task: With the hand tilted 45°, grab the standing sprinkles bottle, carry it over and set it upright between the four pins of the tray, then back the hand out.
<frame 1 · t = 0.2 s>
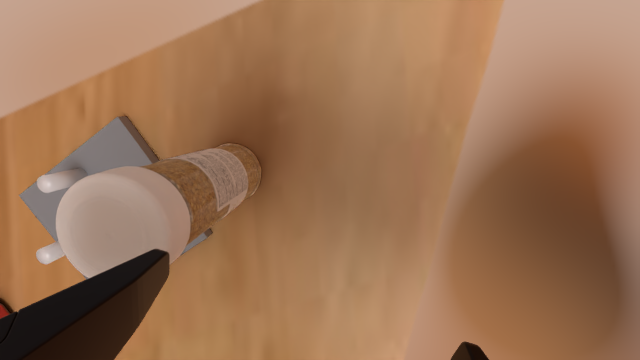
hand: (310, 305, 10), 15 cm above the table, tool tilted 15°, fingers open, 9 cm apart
sprinkles bottle: (235, 171, 25), on the table
pin tray: (120, 212, 27), on the table
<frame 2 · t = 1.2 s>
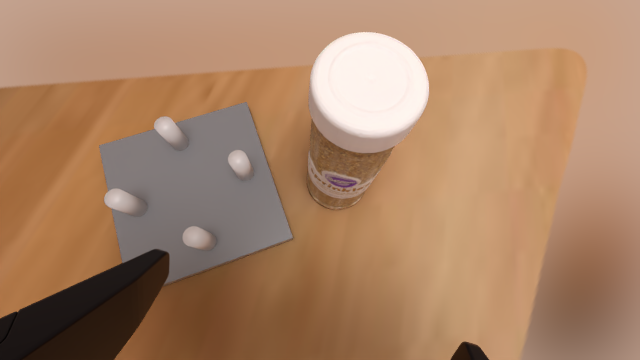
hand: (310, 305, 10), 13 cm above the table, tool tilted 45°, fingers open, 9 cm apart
sprinkles bottle: (336, 181, 25), on the table
pin tray: (197, 193, 24), on the table
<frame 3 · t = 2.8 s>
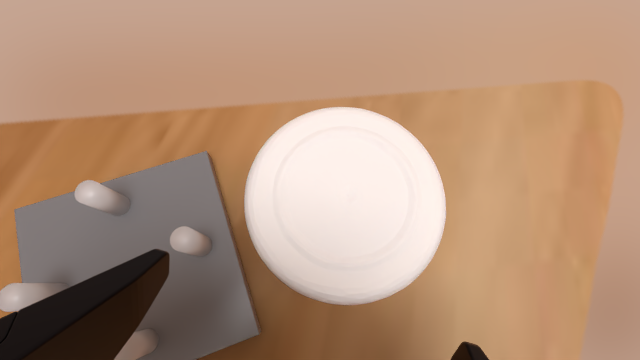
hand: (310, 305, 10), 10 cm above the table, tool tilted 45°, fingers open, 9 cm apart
sprinkles bottle: (318, 252, 20), on the table
pin tray: (140, 270, 19), on the table
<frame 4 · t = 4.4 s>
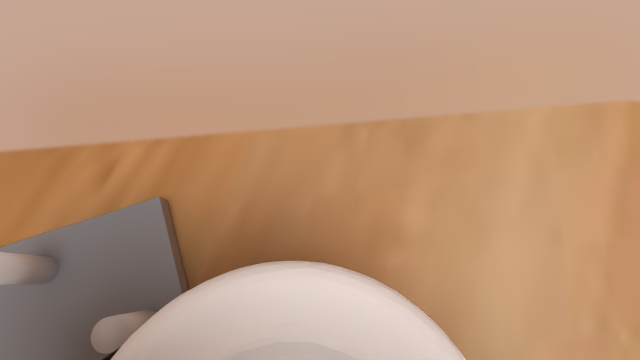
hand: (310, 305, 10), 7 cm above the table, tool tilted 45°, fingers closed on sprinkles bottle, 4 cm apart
sprinkles bottle: (300, 325, 16), on the table, touching gripper
pin tray: (71, 353, 15), on the table
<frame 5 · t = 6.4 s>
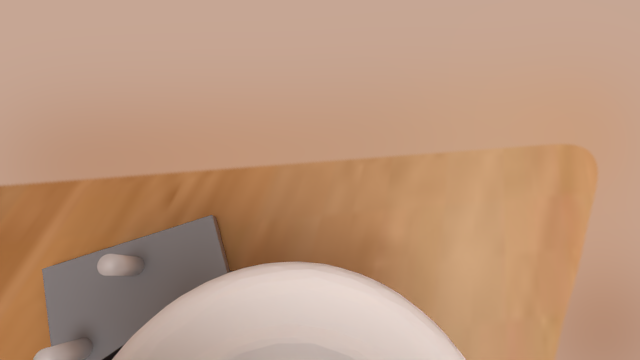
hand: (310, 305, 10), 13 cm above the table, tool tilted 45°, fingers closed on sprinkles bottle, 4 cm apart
sprinkles bottle: (301, 324, 16), point 6 cm above the table, touching gripper
pin tray: (153, 324, 21), on the table
when the fingers open (9 cm above the table, at t = 8.5 s): sprinkles bottle drops 2 cm, resting on pin tray.
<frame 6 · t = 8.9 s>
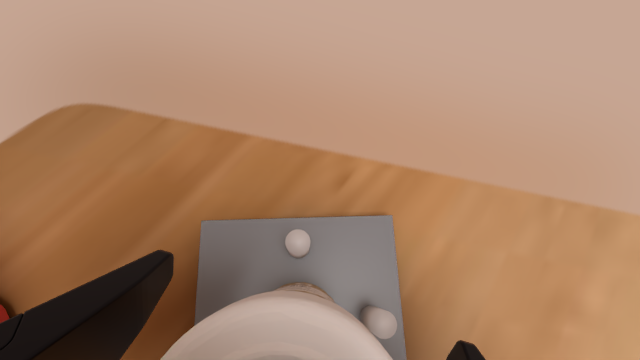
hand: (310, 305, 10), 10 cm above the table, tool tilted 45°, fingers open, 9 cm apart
sprinkles bottle: (299, 325, 18), point 1 cm above the table, touching pin tray
pin tray: (300, 318, 19), on the table
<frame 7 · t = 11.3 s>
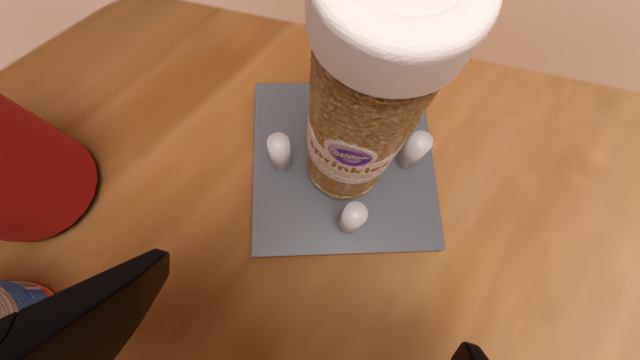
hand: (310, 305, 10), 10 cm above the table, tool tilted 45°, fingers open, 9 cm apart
sprinkles bottle: (343, 165, 20), point 1 cm above the table, touching pin tray
pill bottle: (19, 332, 18), on the table
pin tray: (342, 166, 21), on the table
beer can: (48, 189, 20), on the table
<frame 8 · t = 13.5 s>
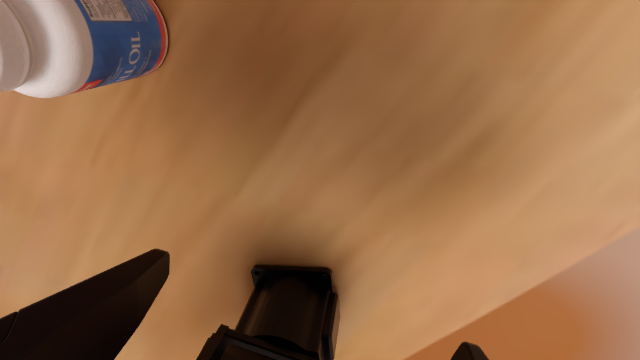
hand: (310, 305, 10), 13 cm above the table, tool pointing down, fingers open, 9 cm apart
pill bottle: (132, 29, 20), on the table
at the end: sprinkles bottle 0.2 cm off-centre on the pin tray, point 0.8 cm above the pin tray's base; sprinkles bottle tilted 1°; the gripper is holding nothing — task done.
